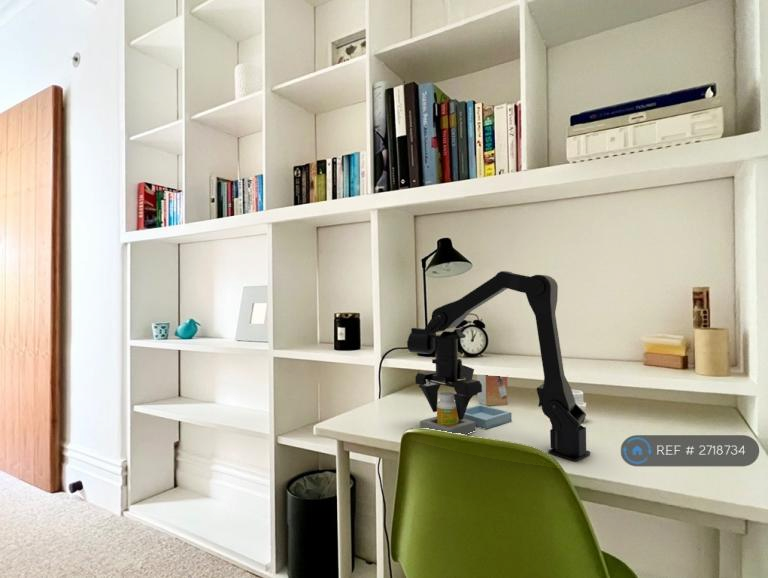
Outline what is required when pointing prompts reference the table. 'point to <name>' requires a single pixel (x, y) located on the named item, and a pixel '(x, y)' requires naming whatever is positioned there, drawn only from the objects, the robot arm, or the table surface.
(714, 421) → the table surface
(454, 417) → the supplement bottle
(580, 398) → the pipe fitting
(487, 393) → the small box
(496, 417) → the tray
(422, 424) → the holder
